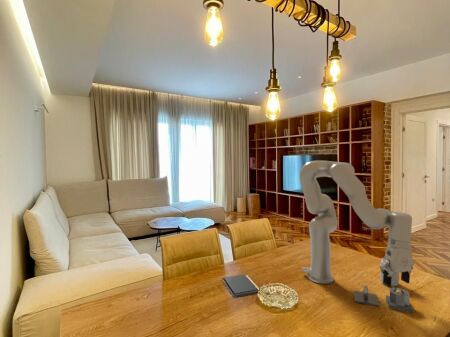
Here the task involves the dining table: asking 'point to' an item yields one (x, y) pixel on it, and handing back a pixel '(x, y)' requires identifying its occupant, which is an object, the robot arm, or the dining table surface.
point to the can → (394, 276)
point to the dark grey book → (240, 286)
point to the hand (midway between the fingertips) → (396, 283)
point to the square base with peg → (395, 307)
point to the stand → (366, 297)
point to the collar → (399, 297)
